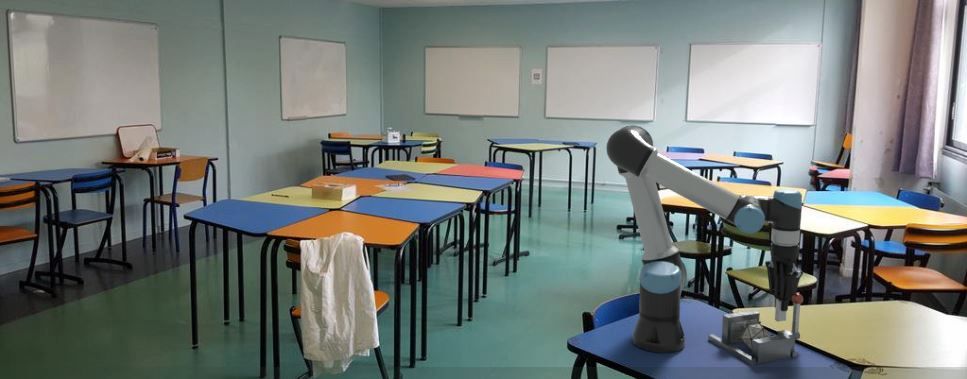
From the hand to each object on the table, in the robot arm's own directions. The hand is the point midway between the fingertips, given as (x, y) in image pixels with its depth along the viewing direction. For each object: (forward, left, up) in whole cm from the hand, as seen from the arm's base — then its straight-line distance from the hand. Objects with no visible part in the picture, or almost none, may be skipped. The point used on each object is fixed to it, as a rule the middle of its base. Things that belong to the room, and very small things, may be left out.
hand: (780, 320), depth 204 cm
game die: (+3, -11, -7) cm, 13 cm away
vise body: (+2, -10, -6) cm, 12 cm away
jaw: (-3, -11, -6) cm, 13 cm away
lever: (+6, 0, -4) cm, 7 cm away
